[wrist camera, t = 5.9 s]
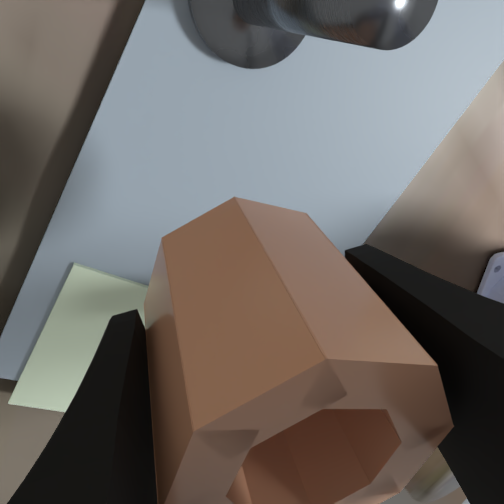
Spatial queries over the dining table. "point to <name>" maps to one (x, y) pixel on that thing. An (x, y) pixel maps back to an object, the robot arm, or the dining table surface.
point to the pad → (74, 336)
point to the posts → (303, 25)
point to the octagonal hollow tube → (280, 368)
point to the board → (250, 142)
